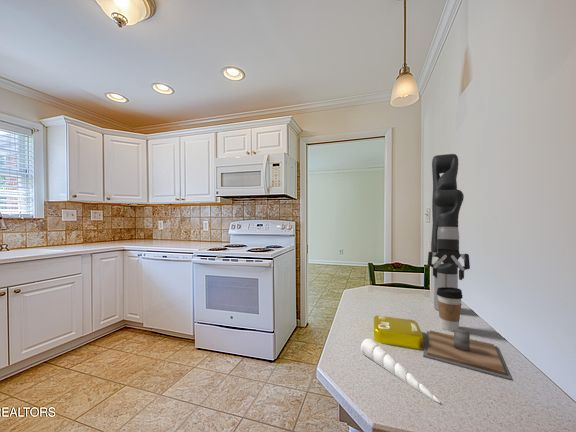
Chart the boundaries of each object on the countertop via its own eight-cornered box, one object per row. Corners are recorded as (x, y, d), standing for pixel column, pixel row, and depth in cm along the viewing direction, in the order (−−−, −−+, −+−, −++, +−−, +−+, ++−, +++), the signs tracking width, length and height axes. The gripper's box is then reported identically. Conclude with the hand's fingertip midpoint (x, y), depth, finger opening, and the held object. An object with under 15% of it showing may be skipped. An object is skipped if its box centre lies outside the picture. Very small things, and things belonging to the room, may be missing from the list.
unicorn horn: (428, 410, 54) (428, 387, 54) (359, 354, 76) (359, 338, 76) (443, 404, 56) (444, 383, 56) (371, 352, 78) (372, 336, 78)
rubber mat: (426, 332, 92) (426, 330, 92) (497, 347, 82) (497, 346, 82) (423, 356, 75) (423, 355, 75) (511, 380, 65) (511, 378, 65)
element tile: (424, 351, 79) (424, 336, 79) (373, 343, 84) (374, 328, 84) (416, 332, 93) (416, 319, 93) (373, 325, 98) (373, 313, 98)
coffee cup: (466, 334, 91) (467, 292, 91) (441, 331, 93) (441, 290, 93) (456, 324, 99) (456, 286, 100) (432, 322, 101) (433, 285, 101)
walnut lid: (429, 332, 91) (430, 316, 91) (493, 346, 81) (493, 328, 81) (427, 354, 75) (427, 335, 76) (505, 375, 66) (505, 353, 66)
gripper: (466, 239, 103) (466, 279, 102) (426, 237, 108) (426, 275, 107) (471, 239, 96) (471, 282, 95) (429, 237, 101) (429, 278, 100)
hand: (447, 278), depth 101 cm, fingers open, 8 cm apart
